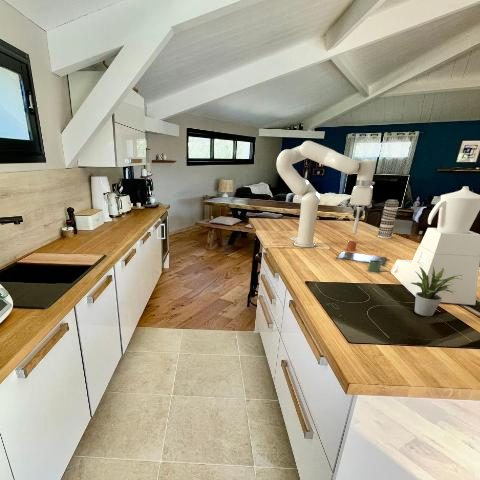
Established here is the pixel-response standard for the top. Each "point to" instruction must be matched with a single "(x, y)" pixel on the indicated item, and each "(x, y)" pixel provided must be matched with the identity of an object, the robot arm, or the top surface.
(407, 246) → the top surface
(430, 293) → the house plant
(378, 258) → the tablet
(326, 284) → the top surface
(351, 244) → the reddish-brown cube
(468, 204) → the blender
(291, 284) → the top surface
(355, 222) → the stylus
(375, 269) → the green cube
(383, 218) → the tower model
